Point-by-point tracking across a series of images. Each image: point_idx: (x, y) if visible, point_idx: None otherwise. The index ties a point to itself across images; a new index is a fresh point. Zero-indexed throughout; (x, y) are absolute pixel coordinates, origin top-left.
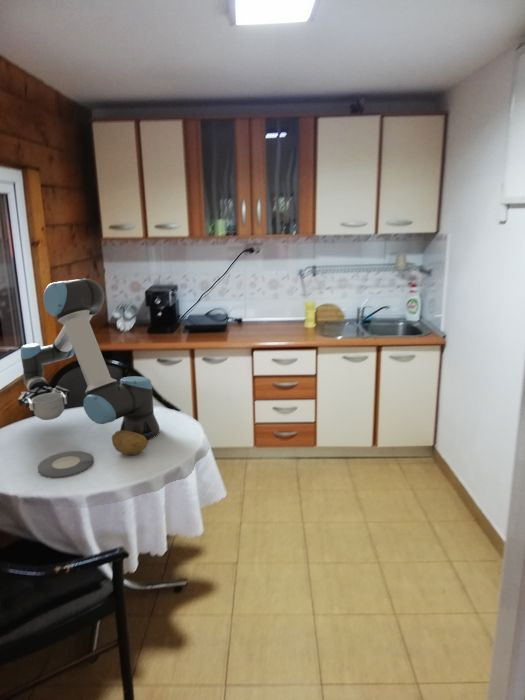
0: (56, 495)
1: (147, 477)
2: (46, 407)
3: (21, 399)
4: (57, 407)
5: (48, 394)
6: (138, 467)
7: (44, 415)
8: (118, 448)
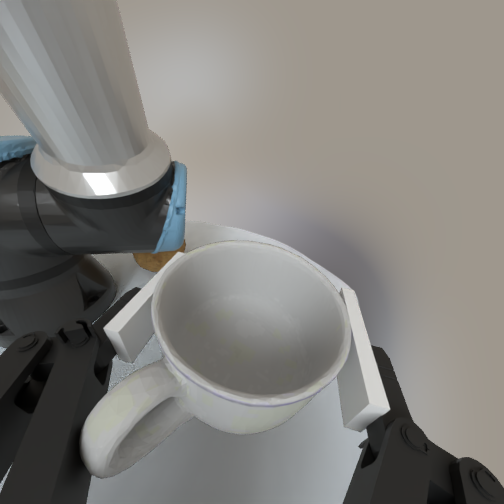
0: (296, 250)
1: (206, 223)
2: (279, 269)
3: (455, 462)
4: (235, 270)
5: (199, 374)
6: (194, 236)
7: (282, 301)
8: (184, 249)
